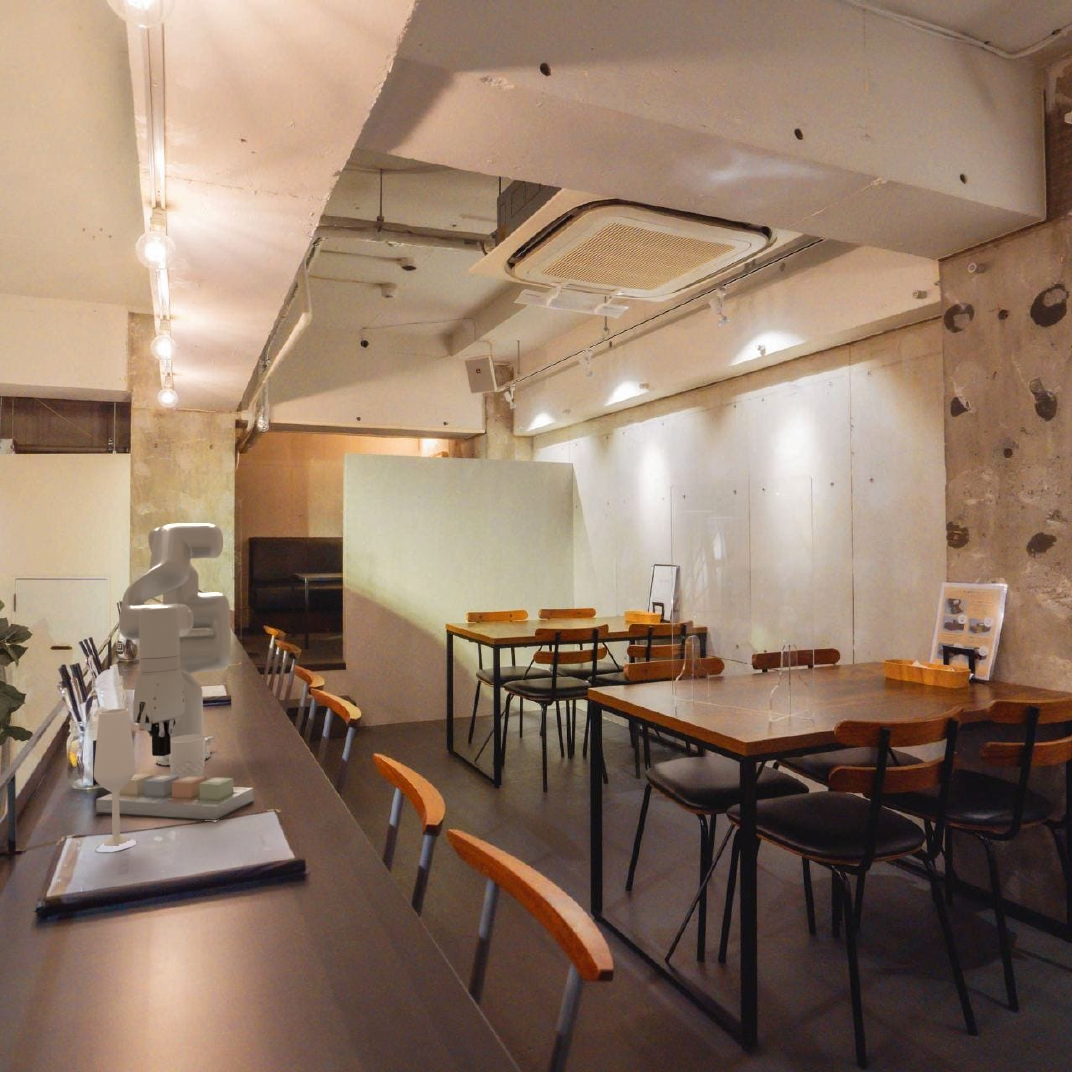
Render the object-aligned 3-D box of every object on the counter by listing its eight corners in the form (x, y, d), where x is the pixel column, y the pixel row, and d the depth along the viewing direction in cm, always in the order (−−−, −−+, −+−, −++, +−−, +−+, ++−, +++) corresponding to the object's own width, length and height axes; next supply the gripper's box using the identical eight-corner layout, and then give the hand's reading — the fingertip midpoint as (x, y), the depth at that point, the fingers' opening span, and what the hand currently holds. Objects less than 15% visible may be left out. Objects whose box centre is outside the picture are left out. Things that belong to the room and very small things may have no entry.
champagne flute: (97, 842, 140) (95, 709, 141) (138, 836, 143) (136, 706, 143) (92, 855, 134) (90, 716, 134) (135, 848, 137) (133, 712, 137)
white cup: (191, 787, 173) (191, 742, 173) (160, 786, 175) (160, 742, 175) (213, 777, 181) (212, 734, 181) (183, 776, 182) (182, 733, 183)
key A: (187, 792, 161) (187, 775, 161) (206, 793, 159) (205, 776, 160) (172, 799, 156) (171, 781, 156) (191, 800, 155) (190, 782, 155)
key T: (161, 791, 162) (160, 774, 162) (179, 792, 161) (179, 775, 161) (145, 798, 158) (144, 780, 158) (163, 799, 157) (163, 781, 157)
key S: (135, 789, 164) (135, 772, 164) (153, 790, 163) (152, 773, 163) (118, 796, 160) (118, 778, 160) (137, 797, 158) (136, 779, 158)
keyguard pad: (140, 795, 168) (140, 781, 168) (253, 802, 161) (253, 788, 161) (96, 814, 156) (96, 799, 156) (215, 822, 149) (215, 806, 149)
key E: (214, 794, 159) (214, 776, 159) (233, 795, 158) (233, 777, 158) (199, 801, 155) (199, 783, 155) (219, 802, 153) (218, 784, 154)
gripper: (170, 661, 168) (171, 746, 167) (116, 670, 154) (118, 763, 153) (199, 661, 166) (201, 747, 166) (148, 670, 152) (150, 764, 151)
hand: (161, 754), depth 159 cm, fingers closed
